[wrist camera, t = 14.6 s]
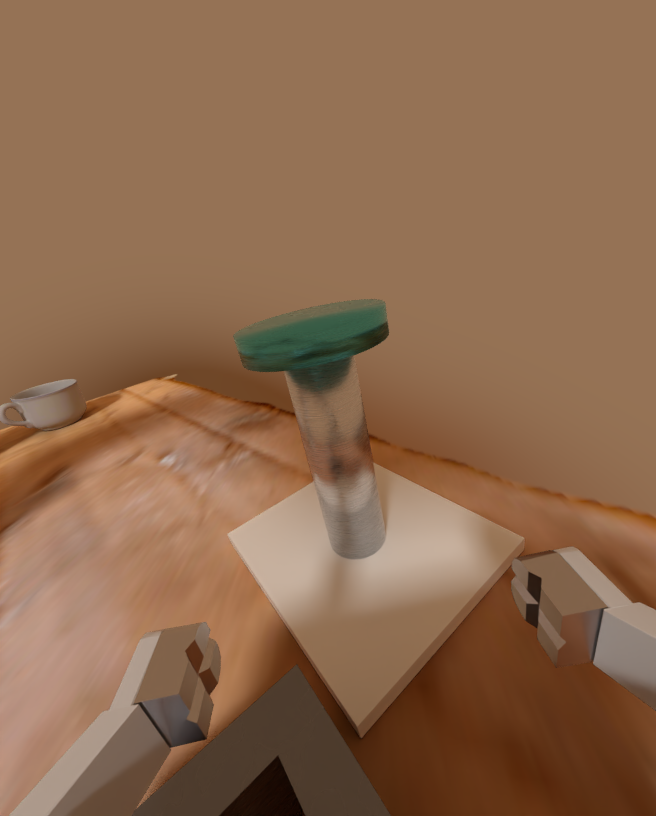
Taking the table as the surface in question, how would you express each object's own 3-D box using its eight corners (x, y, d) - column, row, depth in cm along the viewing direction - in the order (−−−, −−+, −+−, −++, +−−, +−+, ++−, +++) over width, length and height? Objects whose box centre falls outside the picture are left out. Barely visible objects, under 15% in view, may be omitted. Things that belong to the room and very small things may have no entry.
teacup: (80, 410, 75) (62, 377, 72) (103, 413, 69) (84, 377, 66) (4, 442, 65) (-21, 405, 62) (24, 448, 59) (-3, 408, 56)
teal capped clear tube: (282, 538, 25) (212, 335, 19) (361, 485, 29) (325, 301, 23) (350, 614, 19) (278, 345, 13) (440, 532, 23) (419, 296, 16)
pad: (231, 543, 27) (227, 533, 27) (359, 462, 34) (357, 454, 33) (360, 738, 15) (357, 727, 14) (524, 549, 21) (524, 537, 21)
